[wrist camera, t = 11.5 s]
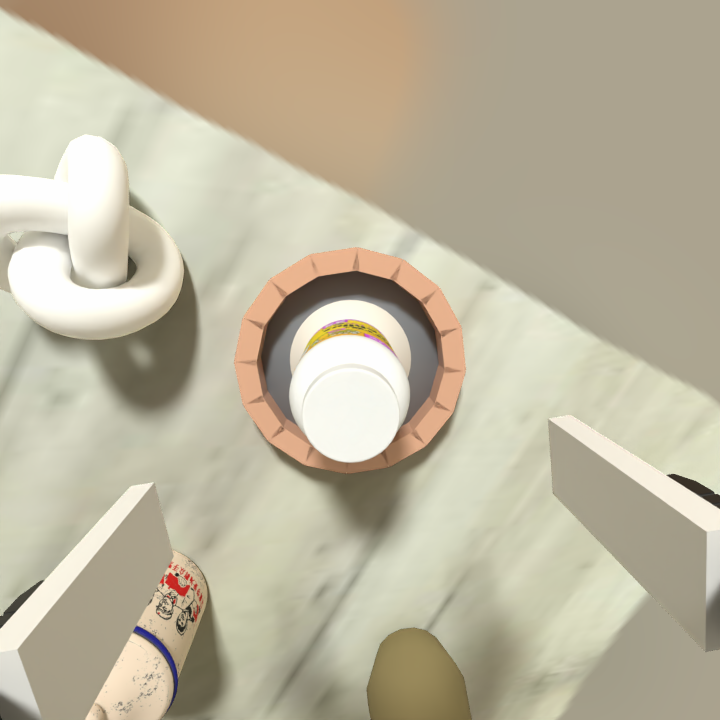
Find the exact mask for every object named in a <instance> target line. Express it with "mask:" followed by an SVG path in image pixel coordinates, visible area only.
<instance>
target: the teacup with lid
mask: <svg viewBox="0 0 720 720" xmlns="http://www.w3.org/2000/svg"><path fill="white" fill-rule="evenodd" d="M172 552H173V555H174V557H173V559H172V561H171V563H170V565H169V566H168V568H167V570H166V572H165V574H164V576H163V577H162V579H161V581H160V583H159V585H158V587H157V588H156V590H155V592H154V594H153V596H152V598H151V599H150V601H149V603H148V605H147V607H146V609H145V610H144V612H143V614H142V616H141V618H140V620H139V621H138V623H137V625H136V627H135V629H134V631H133V633H132V634H131V636H130V638H129V640H128V642H127V644H126V645H125V647H124V649H123V651H122V653H121V655H120V656H119V658H118V660H117V662H116V664H115V666H114V667H113V669H112V671H111V673H110V675H109V677H108V678H107V680H106V682H105V684H104V686H103V688H102V689H101V691H100V693H99V695H98V697H97V699H96V700H95V702H94V704H93V706H92V708H91V710H90V711H89V713H88V715H87V717H86V719H85V720H160V719H161V718H162V717H163V716H164V714H165V713H166V712H167V711H168V709H169V708H170V706H171V705H172V703H173V701H174V698H175V695H176V692H177V687H178V678H179V675H180V672H181V670H182V667H183V665H184V662H185V659H186V657H187V654H188V652H189V649H190V646H191V644H192V641H193V639H194V636H195V633H196V631H197V628H198V626H199V623H200V620H201V618H202V615H203V613H204V610H205V607H206V603H207V595H208V594H207V586H206V582H205V579H204V577H203V575H202V573H201V571H200V570H199V568H198V567H197V566H196V565H195V564H194V563H193V562H192V561H191V560H190V559H188V558H187V557H186V556H184V555H182V554H181V553H179V552H176V551H174V550H172Z"/></svg>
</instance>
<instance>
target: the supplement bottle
mask: <svg viewBox="0 0 720 720" xmlns="http://www.w3.org/2000/svg"><path fill="white" fill-rule="evenodd" d="M289 401H290V407H291V411H292V415H293V417H294V419H295V421H296V423H297V425H298V427H299V428H300V429H301V431H302V432H303V433H304V434H305V435H306V437H307V438H308V440H309V441H310V443H311V444H312V445H313V447H314V448H315V449H316V450H318V451H319V452H320V453H321V454H323V455H324V456H326V457H328V458H331V459H333V460H335V461H340V462H346V463H355V462H362V461H365V460H368V459H371V458H373V457H375V456H377V455H378V454H380V453H381V452H382V451H383V450H385V449H386V448H387V447H388V446H389V444H390V443H391V442H392V440H393V439H394V437H395V435H396V433H397V431H398V430H399V429H400V427H401V425H402V424H403V422H404V420H405V418H406V415H407V411H408V408H409V402H410V387H409V381H408V378H407V375H406V372H405V370H404V368H403V366H402V364H401V363H400V361H399V359H398V358H397V356H396V354H395V352H394V351H393V349H392V347H391V345H390V344H389V342H388V340H387V339H386V337H385V336H384V335H383V334H382V333H381V332H380V331H379V330H378V329H377V328H376V327H374V326H373V325H371V324H369V323H367V322H364V321H361V320H356V319H341V320H337V321H333V322H331V323H329V324H327V325H325V326H323V327H322V328H320V329H319V330H318V331H317V332H316V333H315V334H314V335H313V336H312V338H311V339H310V340H309V342H308V344H307V346H306V348H305V350H304V352H303V354H302V356H301V358H300V360H299V362H298V364H297V366H296V368H295V370H294V373H293V376H292V380H291V384H290V390H289Z"/></svg>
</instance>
